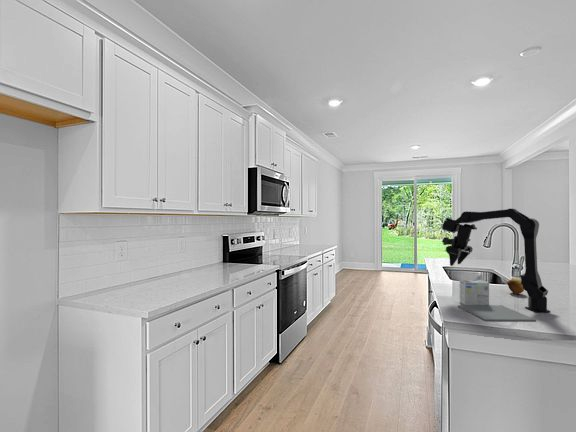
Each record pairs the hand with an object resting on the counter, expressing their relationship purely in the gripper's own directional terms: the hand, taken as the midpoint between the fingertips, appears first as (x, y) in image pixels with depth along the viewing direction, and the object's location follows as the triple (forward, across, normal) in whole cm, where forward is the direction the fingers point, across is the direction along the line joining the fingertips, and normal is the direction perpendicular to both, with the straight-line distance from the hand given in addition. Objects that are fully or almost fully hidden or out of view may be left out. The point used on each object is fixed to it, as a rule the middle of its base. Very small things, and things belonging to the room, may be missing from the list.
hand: (454, 264), depth 169 cm
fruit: (+10, -28, +23) cm, 38 cm away
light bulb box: (+12, +10, +16) cm, 23 cm away
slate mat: (+9, +20, +27) cm, 35 cm away
